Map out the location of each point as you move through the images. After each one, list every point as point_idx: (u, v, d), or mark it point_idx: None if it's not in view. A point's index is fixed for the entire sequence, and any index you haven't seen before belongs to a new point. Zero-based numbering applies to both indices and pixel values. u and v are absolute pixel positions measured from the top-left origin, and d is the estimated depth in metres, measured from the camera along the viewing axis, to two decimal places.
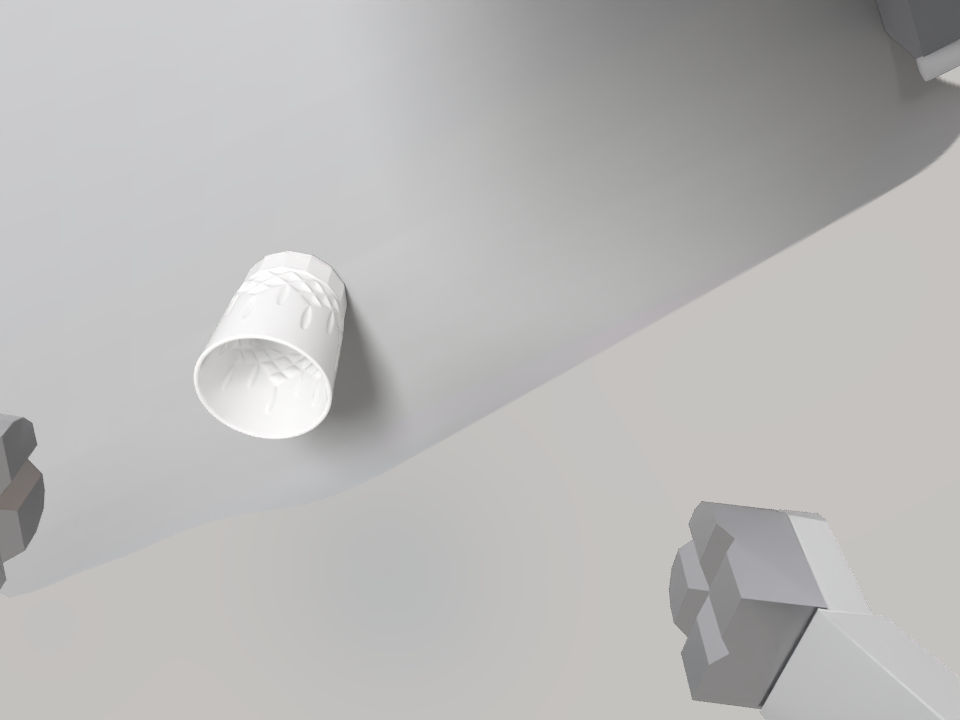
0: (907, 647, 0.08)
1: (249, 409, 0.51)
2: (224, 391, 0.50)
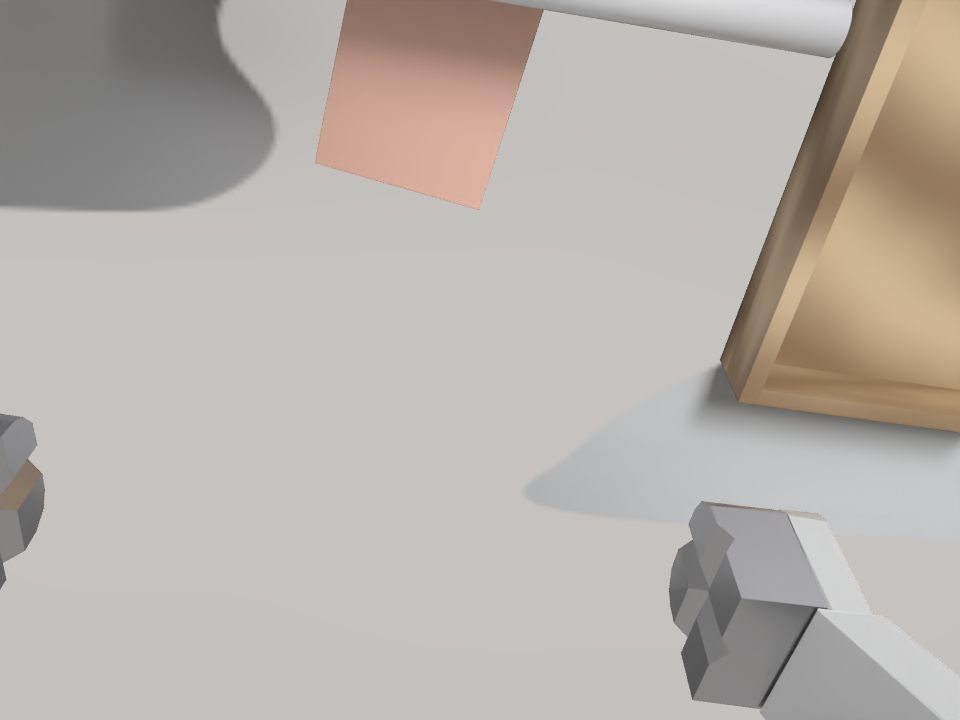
0: (907, 647, 0.08)
1: None
2: None
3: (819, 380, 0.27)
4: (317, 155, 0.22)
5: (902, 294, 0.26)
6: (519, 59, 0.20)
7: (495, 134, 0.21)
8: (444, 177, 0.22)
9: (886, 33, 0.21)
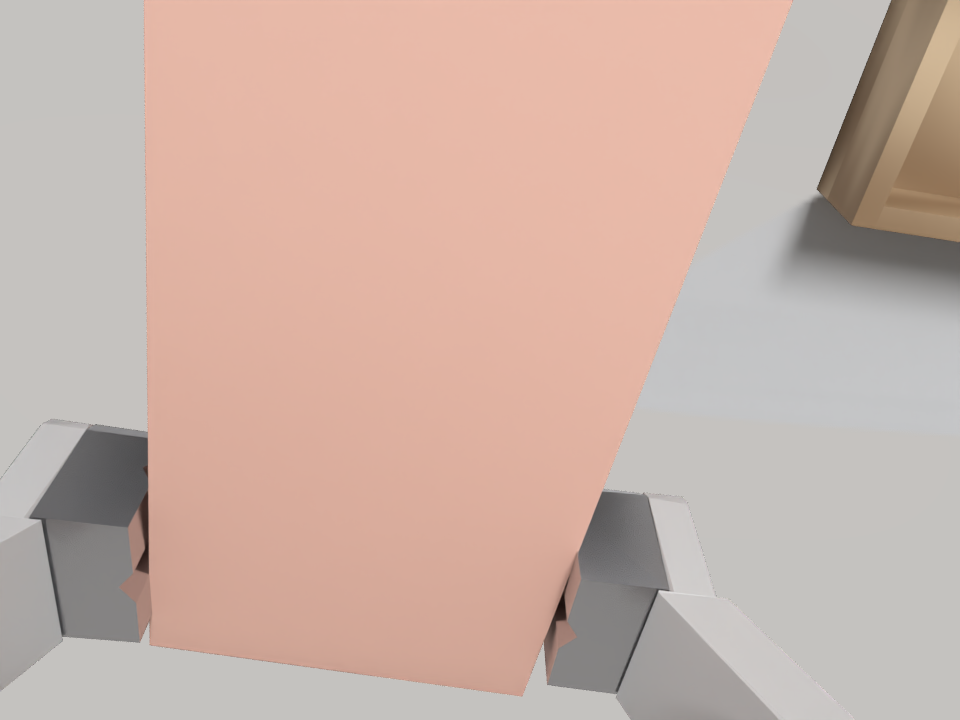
0: (743, 629, 0.08)
1: None
2: None
3: (950, 204, 0.21)
4: (153, 632, 0.10)
5: None
6: (602, 440, 0.08)
7: (550, 579, 0.09)
8: (440, 650, 0.10)
9: None
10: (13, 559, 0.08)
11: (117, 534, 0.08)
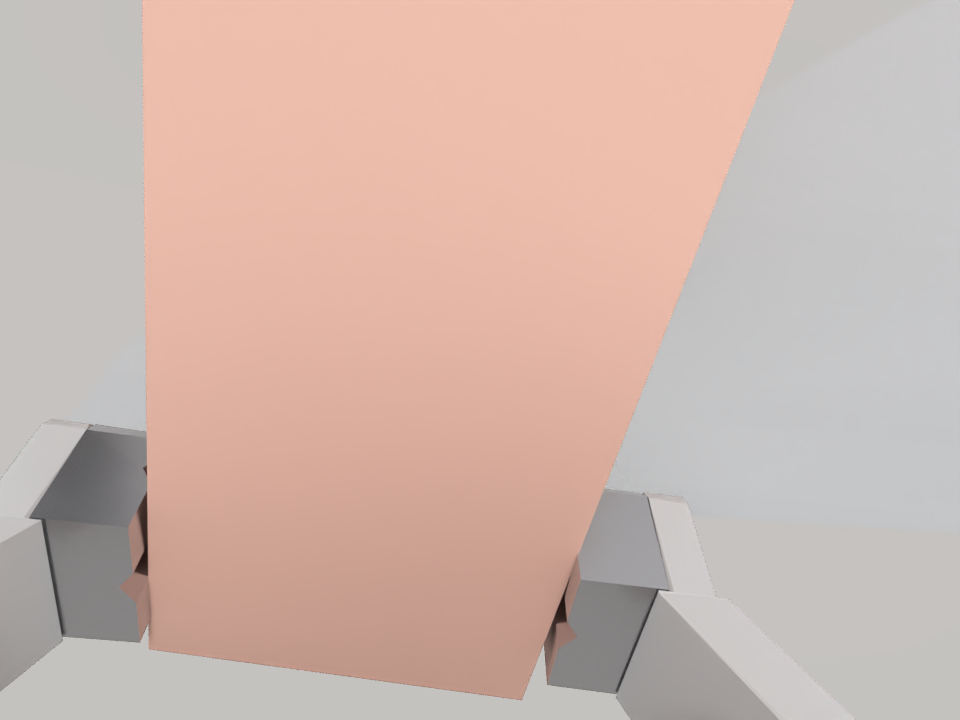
0: (743, 629, 0.08)
1: None
2: None
3: None
4: (152, 636, 0.10)
5: None
6: (601, 445, 0.08)
7: (550, 583, 0.09)
8: (440, 655, 0.10)
9: None
10: (13, 559, 0.08)
11: (117, 534, 0.08)
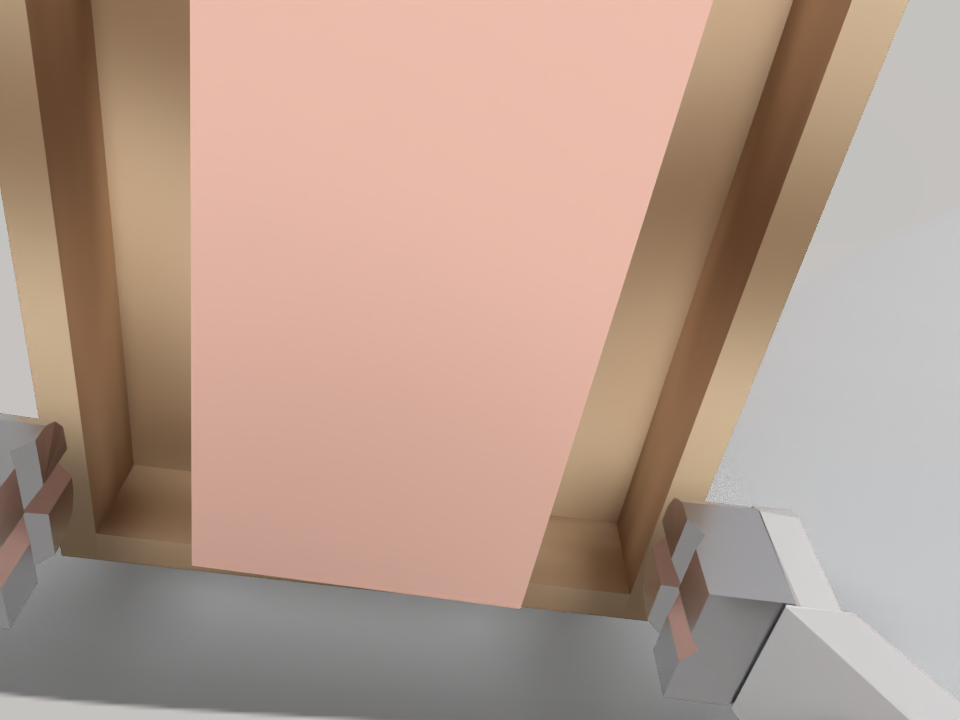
0: (875, 643, 0.08)
1: None
2: None
3: None
4: (194, 553, 0.11)
5: None
6: (580, 367, 0.09)
7: (541, 495, 0.10)
8: (447, 566, 0.11)
9: None
10: None
11: None
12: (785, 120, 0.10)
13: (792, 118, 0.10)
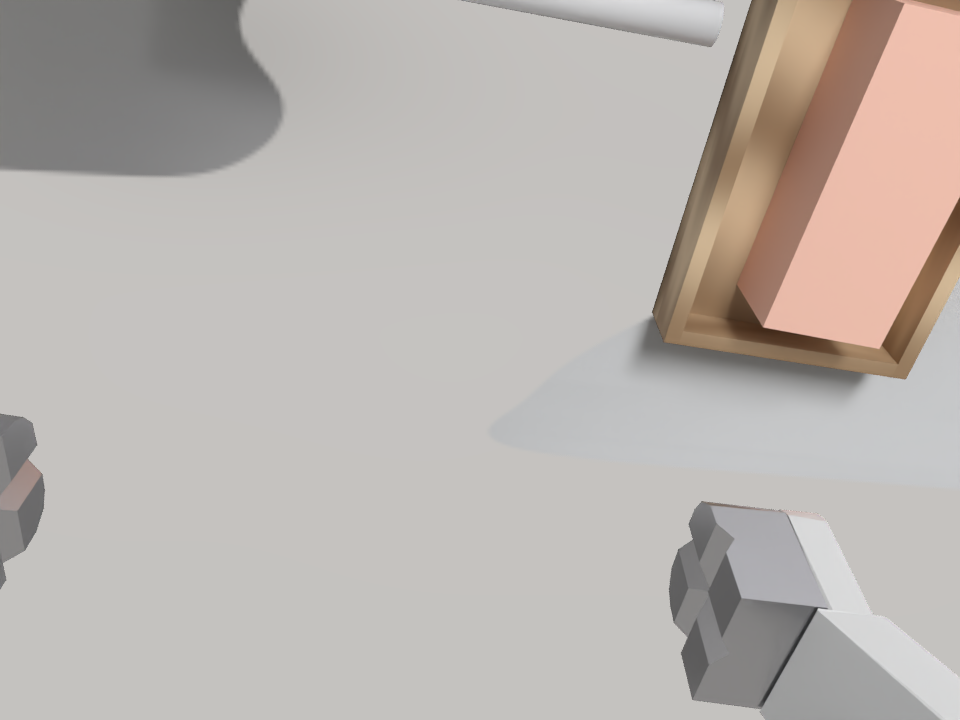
0: (907, 647, 0.08)
1: None
2: None
3: (732, 326, 0.33)
4: (765, 322, 0.30)
5: None
6: (927, 246, 0.28)
7: (901, 297, 0.29)
8: (857, 329, 0.30)
9: (765, 34, 0.26)
10: None
11: None
12: None
13: None
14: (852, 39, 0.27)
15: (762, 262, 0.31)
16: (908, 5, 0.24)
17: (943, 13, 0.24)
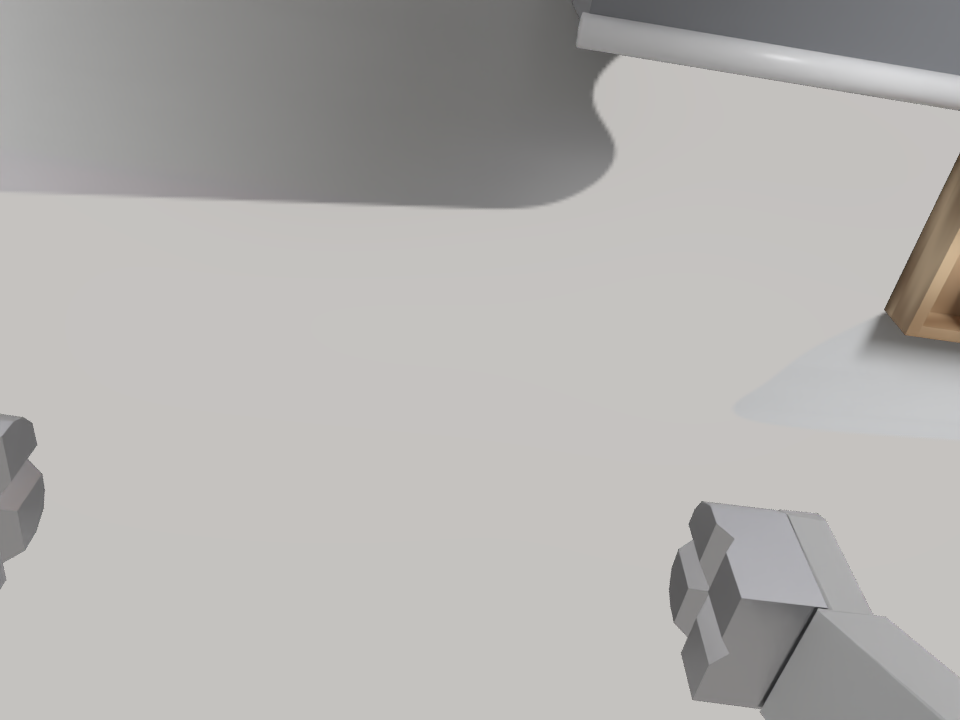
0: (907, 647, 0.08)
1: None
2: None
3: (956, 321, 0.41)
4: None
5: None
6: None
7: None
8: None
9: None
10: None
11: None
12: None
13: None
14: None
15: None
16: None
17: None
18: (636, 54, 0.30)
